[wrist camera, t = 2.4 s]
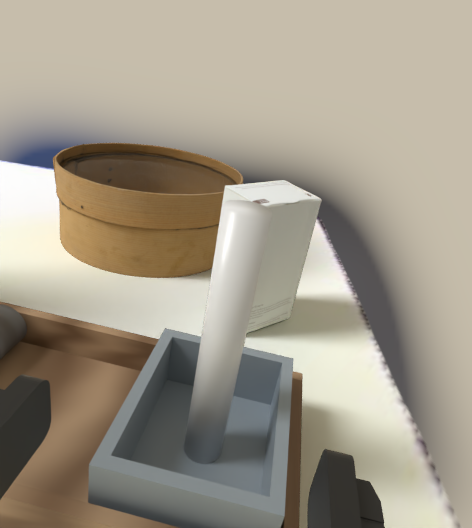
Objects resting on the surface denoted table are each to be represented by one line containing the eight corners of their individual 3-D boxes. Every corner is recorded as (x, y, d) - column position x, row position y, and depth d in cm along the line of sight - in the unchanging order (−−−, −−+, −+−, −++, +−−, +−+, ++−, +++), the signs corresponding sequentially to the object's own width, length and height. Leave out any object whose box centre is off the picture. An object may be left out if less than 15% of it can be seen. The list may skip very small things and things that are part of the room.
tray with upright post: (87, 525, 23) (92, 230, 15) (159, 378, 34) (183, 163, 27) (264, 574, 22) (362, 289, 15) (279, 407, 34) (339, 195, 26)
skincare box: (258, 295, 52) (284, 178, 45) (292, 321, 48) (326, 197, 41) (202, 310, 47) (222, 180, 40) (234, 341, 43) (262, 202, 36)
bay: (-177, 491, 24) (-202, 430, 22) (-1, 338, 37) (-6, 292, 35) (280, 620, 22) (301, 567, 20) (291, 410, 35) (304, 365, 33)
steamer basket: (12, 236, 55) (7, 149, 50) (131, 199, 76) (136, 136, 71) (171, 303, 47) (184, 209, 42) (255, 241, 68) (270, 174, 64)
